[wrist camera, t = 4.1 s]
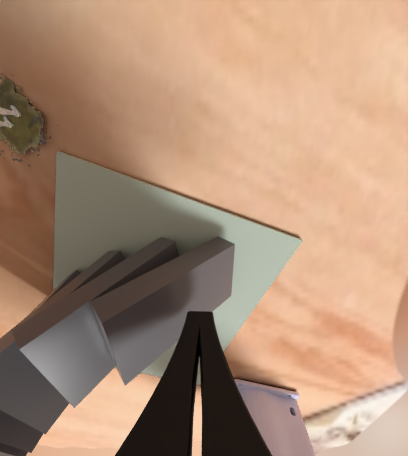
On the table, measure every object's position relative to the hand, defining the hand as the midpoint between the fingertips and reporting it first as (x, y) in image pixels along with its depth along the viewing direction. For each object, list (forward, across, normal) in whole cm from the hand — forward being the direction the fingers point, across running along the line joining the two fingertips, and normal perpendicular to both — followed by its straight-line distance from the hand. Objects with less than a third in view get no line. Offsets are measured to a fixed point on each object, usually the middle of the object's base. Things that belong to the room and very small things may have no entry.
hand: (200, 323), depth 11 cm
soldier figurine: (+6, +11, -10) cm, 16 cm away
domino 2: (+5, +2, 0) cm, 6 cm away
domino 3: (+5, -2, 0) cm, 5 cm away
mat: (+6, +5, +6) cm, 9 cm away
